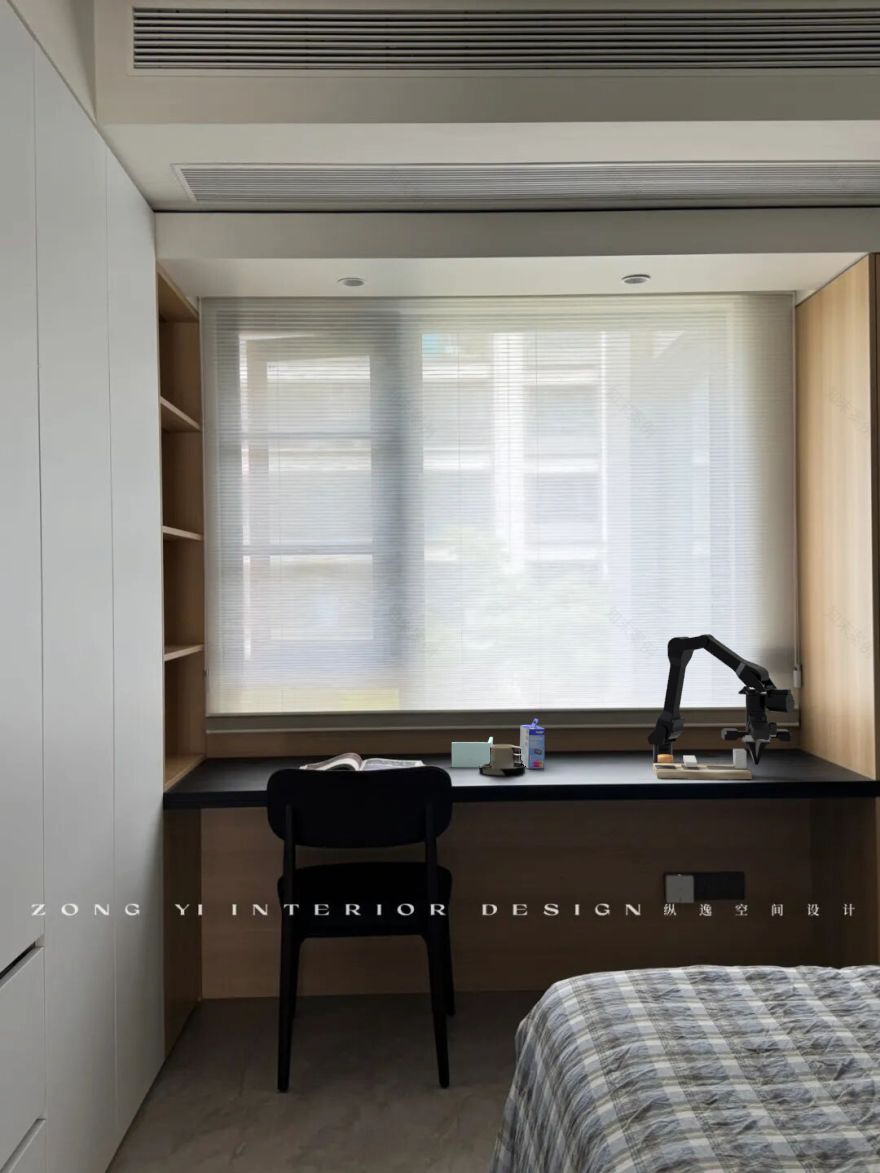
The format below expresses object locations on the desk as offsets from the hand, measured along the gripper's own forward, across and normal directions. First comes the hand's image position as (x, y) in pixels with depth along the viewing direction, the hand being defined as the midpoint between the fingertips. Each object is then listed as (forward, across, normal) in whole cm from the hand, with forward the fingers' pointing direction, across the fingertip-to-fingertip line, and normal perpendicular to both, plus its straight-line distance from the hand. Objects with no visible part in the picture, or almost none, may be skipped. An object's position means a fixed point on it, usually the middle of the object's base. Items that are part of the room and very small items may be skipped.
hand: (756, 764), depth 280 cm
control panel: (+3, -16, 0) cm, 16 cm away
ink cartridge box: (+4, -65, +10) cm, 65 cm away
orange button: (0, -26, 0) cm, 26 cm away
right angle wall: (+4, -83, +13) cm, 84 cm away
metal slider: (+1, -5, 0) cm, 5 cm away
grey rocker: (0, -19, 0) cm, 19 cm away
